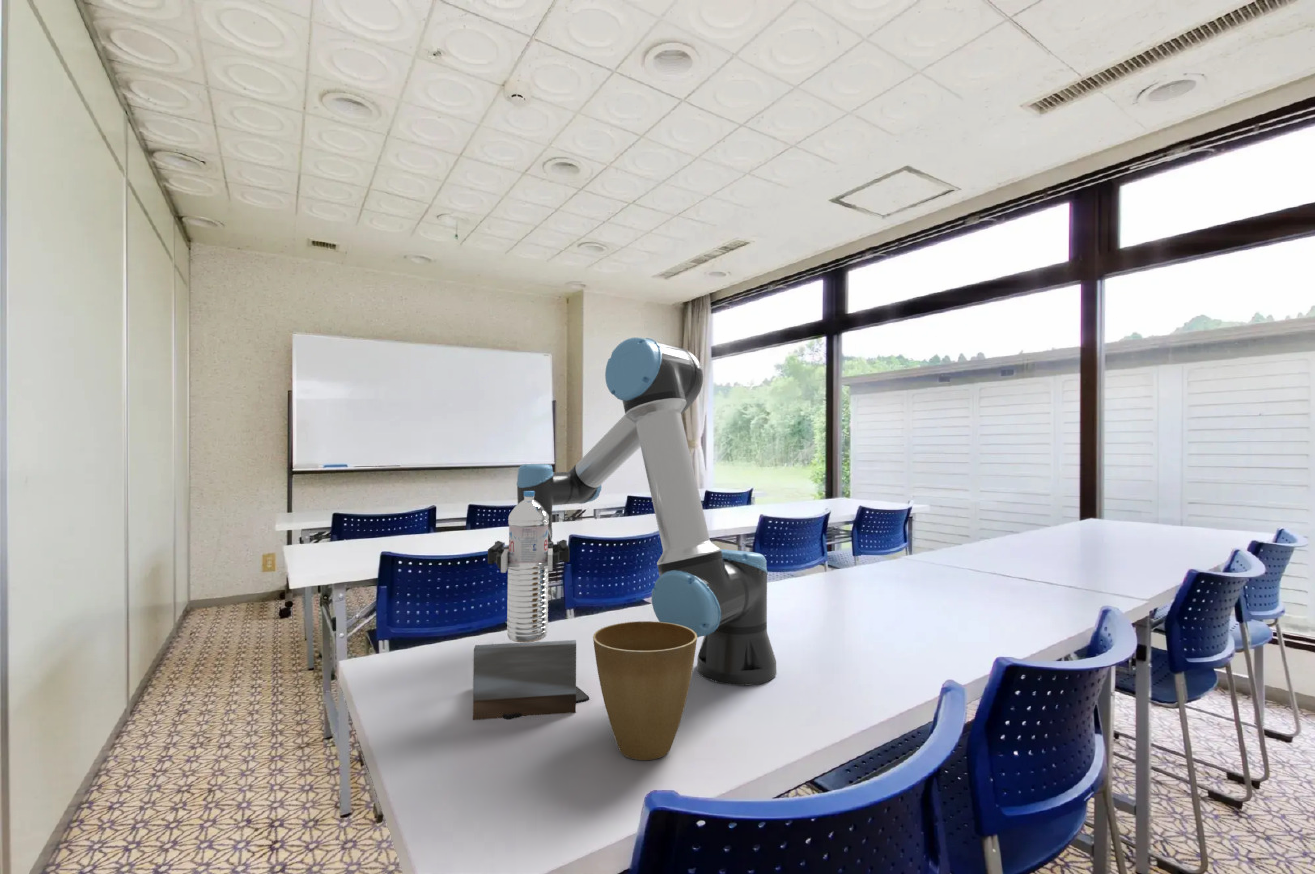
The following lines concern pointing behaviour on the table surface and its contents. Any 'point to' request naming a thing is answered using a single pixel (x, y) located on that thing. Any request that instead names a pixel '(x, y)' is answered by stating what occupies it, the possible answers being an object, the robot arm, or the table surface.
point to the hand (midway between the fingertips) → (526, 563)
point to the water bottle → (528, 571)
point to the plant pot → (645, 683)
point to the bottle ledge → (524, 679)
